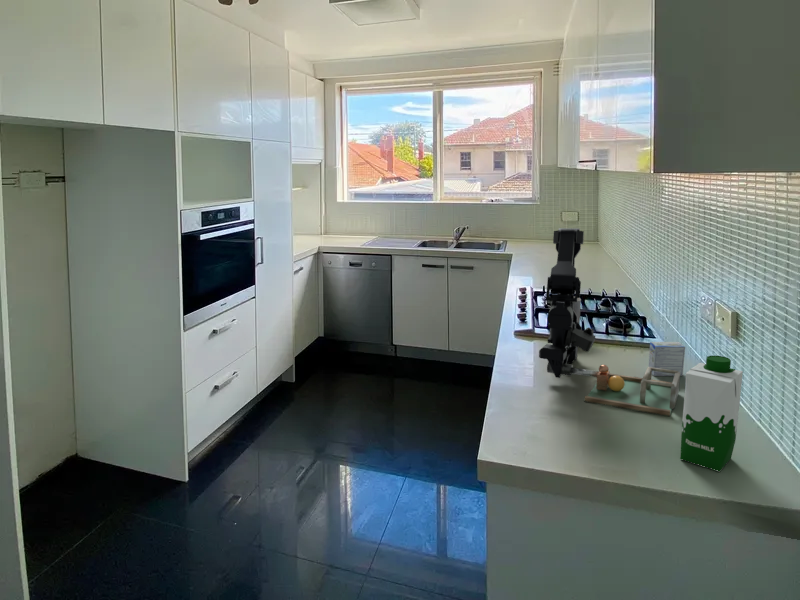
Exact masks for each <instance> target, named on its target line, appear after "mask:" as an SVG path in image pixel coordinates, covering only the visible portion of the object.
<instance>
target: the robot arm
mask: <svg viewBox="0 0 800 600" xmlns="http://www.w3.org/2000/svg"><path fill="white" fill-rule="evenodd" d="M584 234H585V233H584V231H582V230H581V228H577V227H576V228H574V227H573V228H570V227H569V228H568V227H567V228H566V227H565V228H564V227H563V228H561V227H560V228H558V230H554V231H553V235H552V237H553V238H552V240H553V242H552V243H553V244H554V245H555V250H556V252H557V260H556V264H555V265H554V266H553V267H551V270H550V275H548V276H547V282H546V283H547V284H546V293H545V295H546V296H545V301H547V302H548V301H549V302H550V309H549V311H548V314H547V322H548V324H547V328H548V329H549V337H548V338H547V343H546V344H545V345H543V346H542V347H541V348H540V349H539V351H538V358H539V359H544V360H547V363H548V362H549V364H550V366H551V368H552V370H553V372H554V373H553V374H554V376H555V378H557V379H559V378H561V371H562V367H563V364H572V363H574V361H575V360H576V359H577V358H578V354H579V353H578V348H579V349H581V350H582V351H583V352H587V353H588V352H589V351H590V350H591V349H592V347H593V346H594V345H593V344H594V343H595V341H596V339H597V338H596V335H595V334H594V333H595V332H594V329H592V328H591V327H587V328H585V329H584V330H583V328H582V326H581V324H580V323H581V321H580V322H577V315H576V313H575V311H574V309H573V308H574V302H577V298H580V299H581V285H582V284H581V283H582V282H581V280H580V277H578V276H577V268H576V267H575V262H576V257H578V254H579V253H580V252H581V247H582V245H584V237H585V235H584Z"/></svg>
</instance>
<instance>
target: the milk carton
mask: <svg viewBox="0 0 800 600" xmlns="http://www.w3.org/2000/svg"><path fill="white" fill-rule="evenodd" d="M731 363H732V360H731V359H730V358H728V357H726V356H722V355H721V356H720V355H708V356H706V361H705V363H703V362H699V363H697V364H696V365H695V366H693V367H691V368H690V369H689V370H688V371H686V373H685V384H684V386H685V389H684V390H685V391H684V399H683V411H682V423H681V436H680V437H681V438H680V458H679V459H683V460H686V461H689V462H692V463H695V464H699V465H702V466H705V467H708V468H712V469H715V470H718V471H720V470H721V469H722V468H723V469H724V467H725V466H726V465H727V464H728V463H729V462H730V460H731V459H732V456H733V451H734V448H735V447H734V446H735V443H736V439H737V438H736V437H737V430H738V424H739V423H738V420H739V414H740V413H739V412H740V405H741V392H742V383H743V375H744V374H743V373H744V372H743V370H738V369H735V368H731ZM683 460H682V461H683ZM686 461H685V462H686ZM689 462H688V463H689ZM727 462H728V463H727ZM692 463H691V464H692ZM726 463H727V464H726ZM695 464H694V465H695ZM725 464H726V465H725ZM702 466H701V467H702ZM705 467H704V468H705ZM708 468H707V469H708ZM723 469H722V470H723ZM722 470H721V471H722ZM721 471H720V472H721Z"/></svg>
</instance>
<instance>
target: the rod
mask: <svg viewBox="0 0 800 600" xmlns="http://www.w3.org/2000/svg"><path fill="white" fill-rule="evenodd" d="M546 371H547V373H550V374H554V372H553V370H552V368H551V366H550V364H549V362H548V361H547V366H546ZM561 375H562V376H568V377H571V376H572V375H578V376H579V375H580V376H585V377H586V376H587V377H594V378H596V383H597V387H596V389H599V390H605V391H606V390H607V388H608V387H609V386H608V380H609V376H610V370H609V367H608V365H607V364H601V365H599V367H598V370H594V369H593V370H592V369H584V368H578V367H573V364H571V363H567V364H563V367H562V371H561Z"/></svg>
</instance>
